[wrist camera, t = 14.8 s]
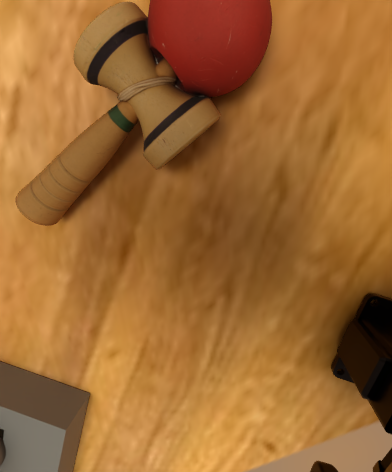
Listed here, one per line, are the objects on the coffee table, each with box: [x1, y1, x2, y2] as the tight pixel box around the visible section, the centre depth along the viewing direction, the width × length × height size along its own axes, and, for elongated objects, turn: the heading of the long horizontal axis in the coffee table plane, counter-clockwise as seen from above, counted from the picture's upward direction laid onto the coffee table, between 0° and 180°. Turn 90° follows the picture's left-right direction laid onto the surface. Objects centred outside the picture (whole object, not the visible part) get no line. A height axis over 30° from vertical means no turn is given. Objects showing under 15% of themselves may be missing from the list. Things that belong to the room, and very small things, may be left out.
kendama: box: [16, 0, 272, 226], centre depth 16 cm, size 8×6×18 cm
